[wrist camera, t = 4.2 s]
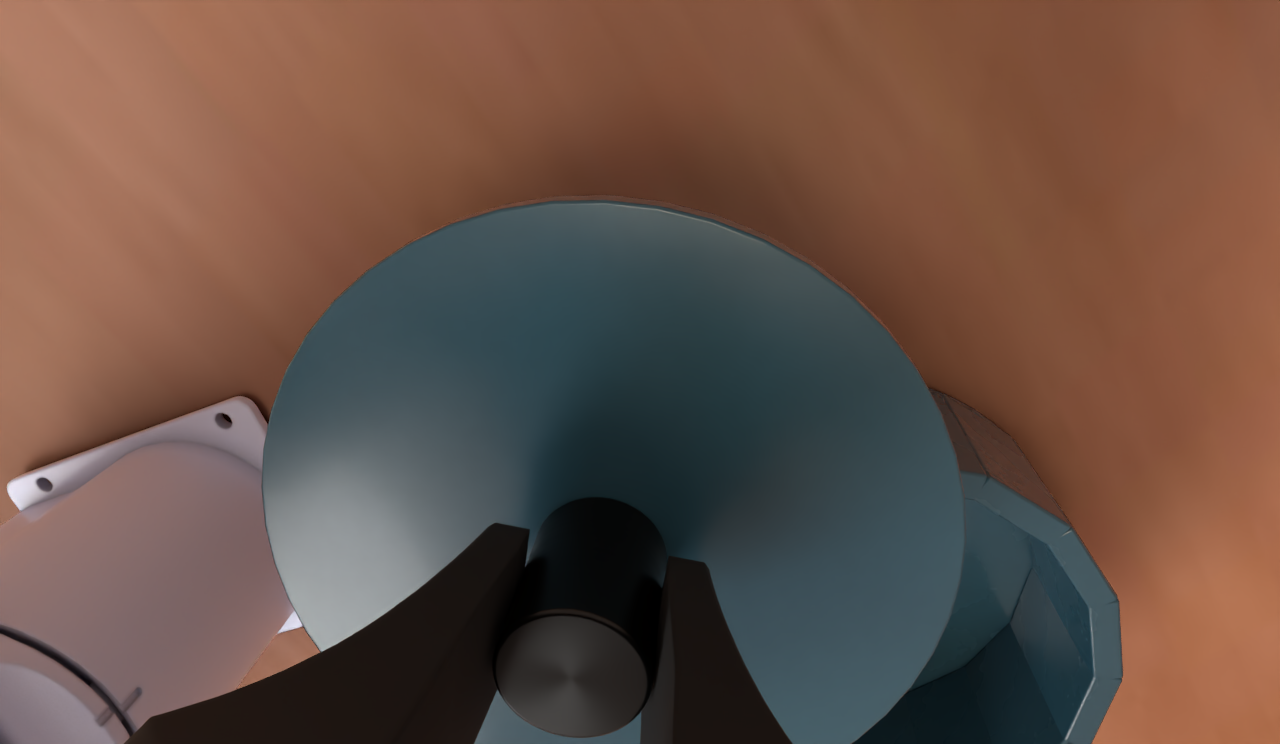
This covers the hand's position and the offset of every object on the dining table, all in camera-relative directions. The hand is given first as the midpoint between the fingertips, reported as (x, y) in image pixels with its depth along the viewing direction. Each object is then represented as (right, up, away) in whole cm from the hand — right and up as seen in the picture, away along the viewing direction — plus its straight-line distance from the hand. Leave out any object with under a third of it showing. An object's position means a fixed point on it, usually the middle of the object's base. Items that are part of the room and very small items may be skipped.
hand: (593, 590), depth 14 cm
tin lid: (0, +1, +1) cm, 2 cm away
